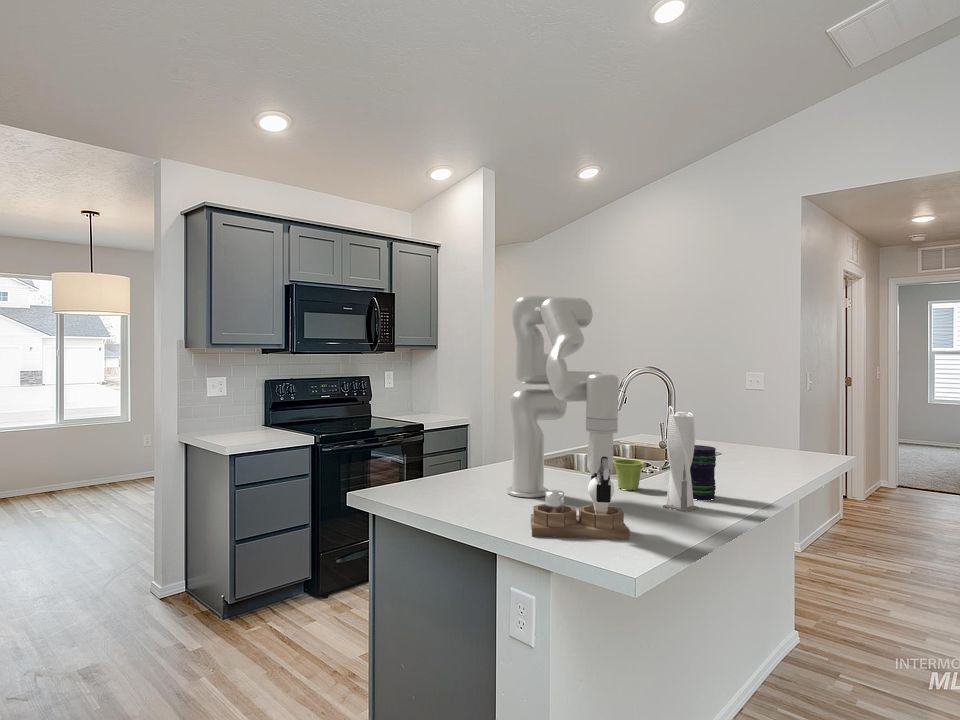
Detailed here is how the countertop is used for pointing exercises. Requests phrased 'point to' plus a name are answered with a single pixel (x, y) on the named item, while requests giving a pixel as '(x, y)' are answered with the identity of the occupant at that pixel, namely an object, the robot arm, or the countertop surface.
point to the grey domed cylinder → (554, 501)
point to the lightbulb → (598, 506)
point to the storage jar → (703, 472)
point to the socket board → (579, 523)
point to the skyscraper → (680, 460)
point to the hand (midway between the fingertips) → (600, 496)
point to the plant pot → (628, 473)
